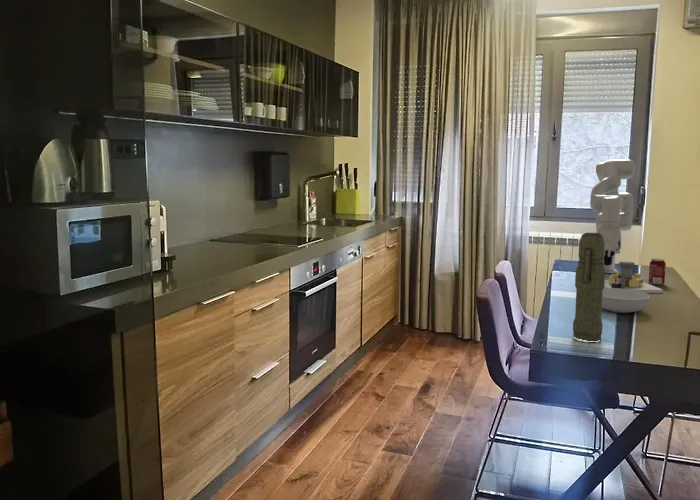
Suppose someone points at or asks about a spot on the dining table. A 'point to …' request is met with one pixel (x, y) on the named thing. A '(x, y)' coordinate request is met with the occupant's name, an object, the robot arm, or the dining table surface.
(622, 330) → the dining table surface
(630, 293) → the serving bowl
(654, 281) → the soda can
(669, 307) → the dining table surface
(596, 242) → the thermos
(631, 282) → the tan ring with handle
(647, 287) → the hub plate
